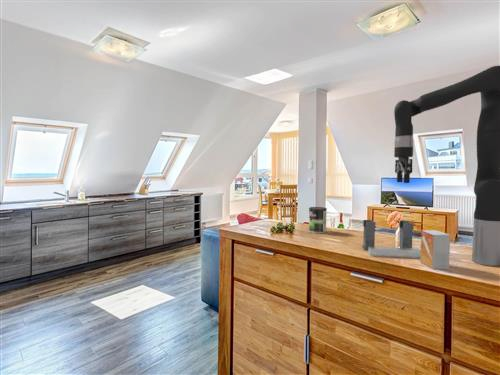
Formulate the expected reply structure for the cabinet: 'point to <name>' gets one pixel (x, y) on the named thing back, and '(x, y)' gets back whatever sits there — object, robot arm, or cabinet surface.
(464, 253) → the cabinet surface
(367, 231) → the post far
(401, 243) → the post near
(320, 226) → the coffee can
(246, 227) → the cabinet surface
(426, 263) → the small box
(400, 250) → the rail
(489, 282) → the cabinet surface
